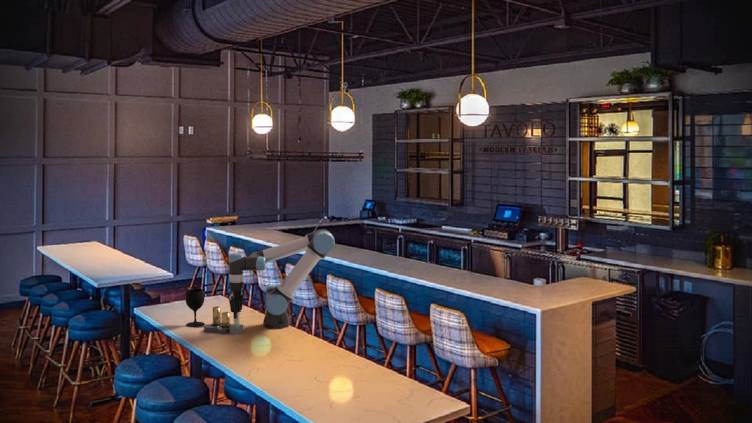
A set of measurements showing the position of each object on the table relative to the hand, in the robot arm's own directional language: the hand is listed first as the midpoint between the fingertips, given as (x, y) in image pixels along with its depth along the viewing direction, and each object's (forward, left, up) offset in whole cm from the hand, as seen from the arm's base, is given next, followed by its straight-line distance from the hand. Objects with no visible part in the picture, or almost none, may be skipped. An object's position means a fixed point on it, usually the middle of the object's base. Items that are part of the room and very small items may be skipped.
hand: (236, 323), depth 347 cm
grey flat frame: (-1, -11, -5) cm, 12 cm away
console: (0, 0, -5) cm, 5 cm away
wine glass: (-5, -30, -5) cm, 31 cm away
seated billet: (-1, -8, -5) cm, 9 cm away
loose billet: (-10, -19, -5) cm, 22 cm away
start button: (0, 0, -2) cm, 2 cm away
